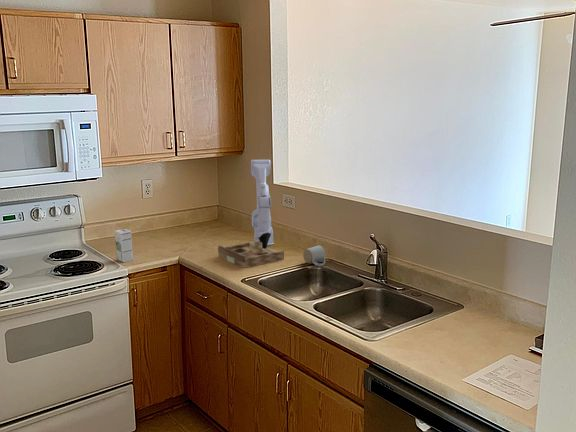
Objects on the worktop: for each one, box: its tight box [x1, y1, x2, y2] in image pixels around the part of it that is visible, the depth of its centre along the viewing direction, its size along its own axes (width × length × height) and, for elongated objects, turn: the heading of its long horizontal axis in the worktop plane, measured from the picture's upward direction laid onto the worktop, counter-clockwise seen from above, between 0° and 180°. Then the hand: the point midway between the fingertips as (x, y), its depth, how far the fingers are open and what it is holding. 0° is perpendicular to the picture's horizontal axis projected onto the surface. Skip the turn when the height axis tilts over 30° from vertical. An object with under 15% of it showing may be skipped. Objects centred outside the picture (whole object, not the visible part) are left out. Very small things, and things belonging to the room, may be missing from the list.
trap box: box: [217, 242, 285, 269], centre depth 274 cm, size 23×22×6 cm
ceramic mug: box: [303, 245, 326, 267], centre depth 266 cm, size 11×8×8 cm
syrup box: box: [114, 228, 134, 263], centre depth 269 cm, size 6×6×14 cm
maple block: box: [249, 240, 262, 253], centre depth 276 cm, size 4×4×4 cm
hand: (264, 248), depth 279 cm, fingers closed
